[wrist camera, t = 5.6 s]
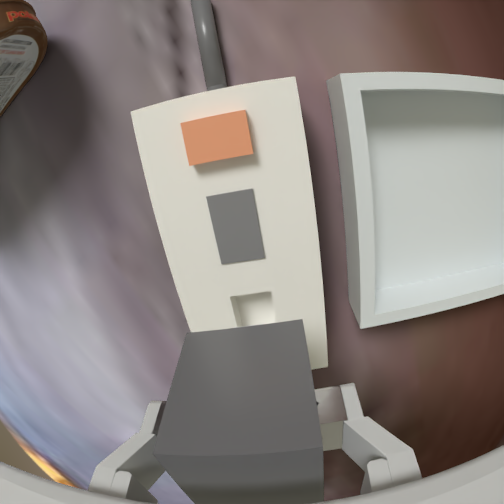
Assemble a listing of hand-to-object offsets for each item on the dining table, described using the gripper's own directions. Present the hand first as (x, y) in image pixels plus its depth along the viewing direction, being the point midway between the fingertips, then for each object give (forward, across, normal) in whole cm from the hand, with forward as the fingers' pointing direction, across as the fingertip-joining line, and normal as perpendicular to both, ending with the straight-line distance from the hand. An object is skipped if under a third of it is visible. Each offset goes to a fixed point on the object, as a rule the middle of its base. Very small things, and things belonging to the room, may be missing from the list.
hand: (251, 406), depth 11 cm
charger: (+4, 0, 0) cm, 4 cm away
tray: (+9, -12, -4) cm, 16 cm away
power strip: (+9, 0, -6) cm, 11 cm away
